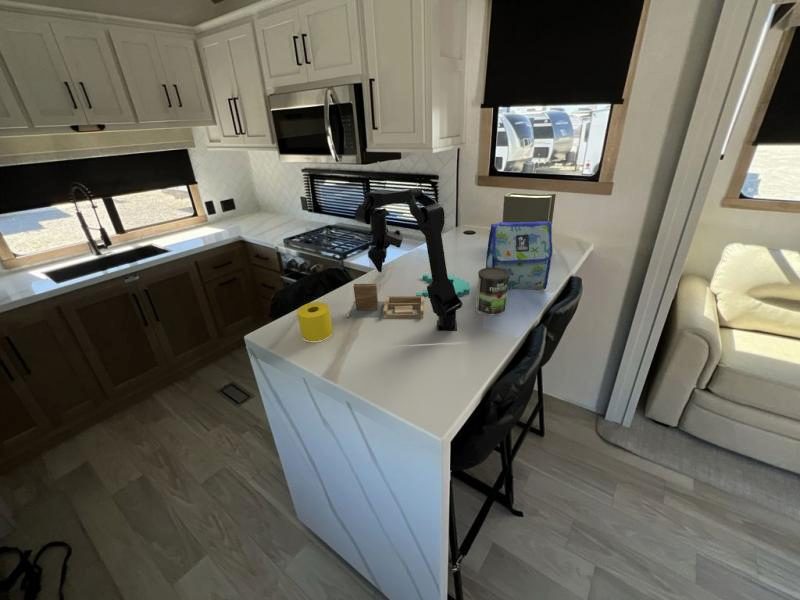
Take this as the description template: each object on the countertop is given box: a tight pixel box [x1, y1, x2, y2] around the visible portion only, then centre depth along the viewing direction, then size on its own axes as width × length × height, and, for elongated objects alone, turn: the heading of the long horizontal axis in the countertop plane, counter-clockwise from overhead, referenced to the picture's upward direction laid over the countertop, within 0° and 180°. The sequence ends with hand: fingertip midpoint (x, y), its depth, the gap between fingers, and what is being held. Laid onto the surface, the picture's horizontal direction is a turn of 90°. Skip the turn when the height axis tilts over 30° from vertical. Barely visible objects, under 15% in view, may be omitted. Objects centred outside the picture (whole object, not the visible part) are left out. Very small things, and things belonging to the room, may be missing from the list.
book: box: [502, 192, 557, 226], centre depth 170 cm, size 22×9×28 cm, turn 54°
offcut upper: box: [394, 306, 414, 314], centre depth 127 cm, size 4×6×1 cm, turn 91°
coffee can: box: [475, 267, 509, 317], centre depth 124 cm, size 10×10×14 cm
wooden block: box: [353, 283, 379, 310], centre depth 128 cm, size 2×8×10 cm, turn 85°
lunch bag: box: [485, 221, 554, 291], centre depth 136 cm, size 22×17×26 cm
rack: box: [382, 295, 425, 319], centre depth 128 cm, size 11×14×3 cm
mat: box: [347, 300, 386, 319], centre depth 130 cm, size 12×12×1 cm
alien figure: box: [415, 273, 471, 297], centre depth 143 cm, size 20×2×20 cm
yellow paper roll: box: [296, 301, 334, 341], centre depth 115 cm, size 10×10×9 cm
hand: (381, 267), depth 134 cm, fingers open, 9 cm apart
